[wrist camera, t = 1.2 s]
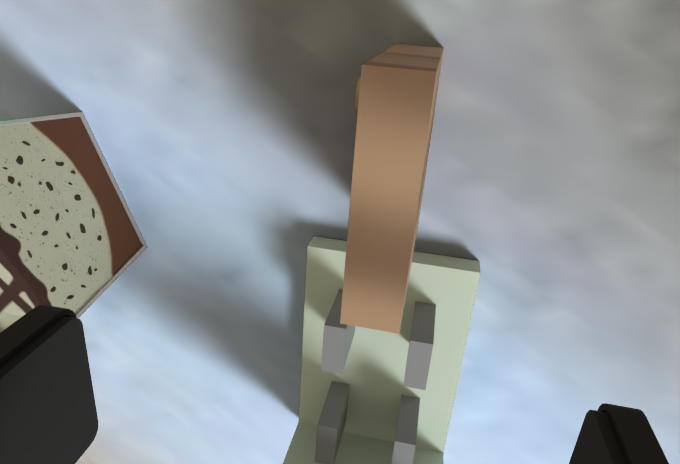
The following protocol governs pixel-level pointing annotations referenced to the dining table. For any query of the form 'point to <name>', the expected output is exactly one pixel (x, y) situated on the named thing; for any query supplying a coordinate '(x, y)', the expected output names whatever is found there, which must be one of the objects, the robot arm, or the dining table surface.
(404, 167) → the wooden block
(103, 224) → the food container
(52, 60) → the dining table surface
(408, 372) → the hinge base
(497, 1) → the dining table surface
